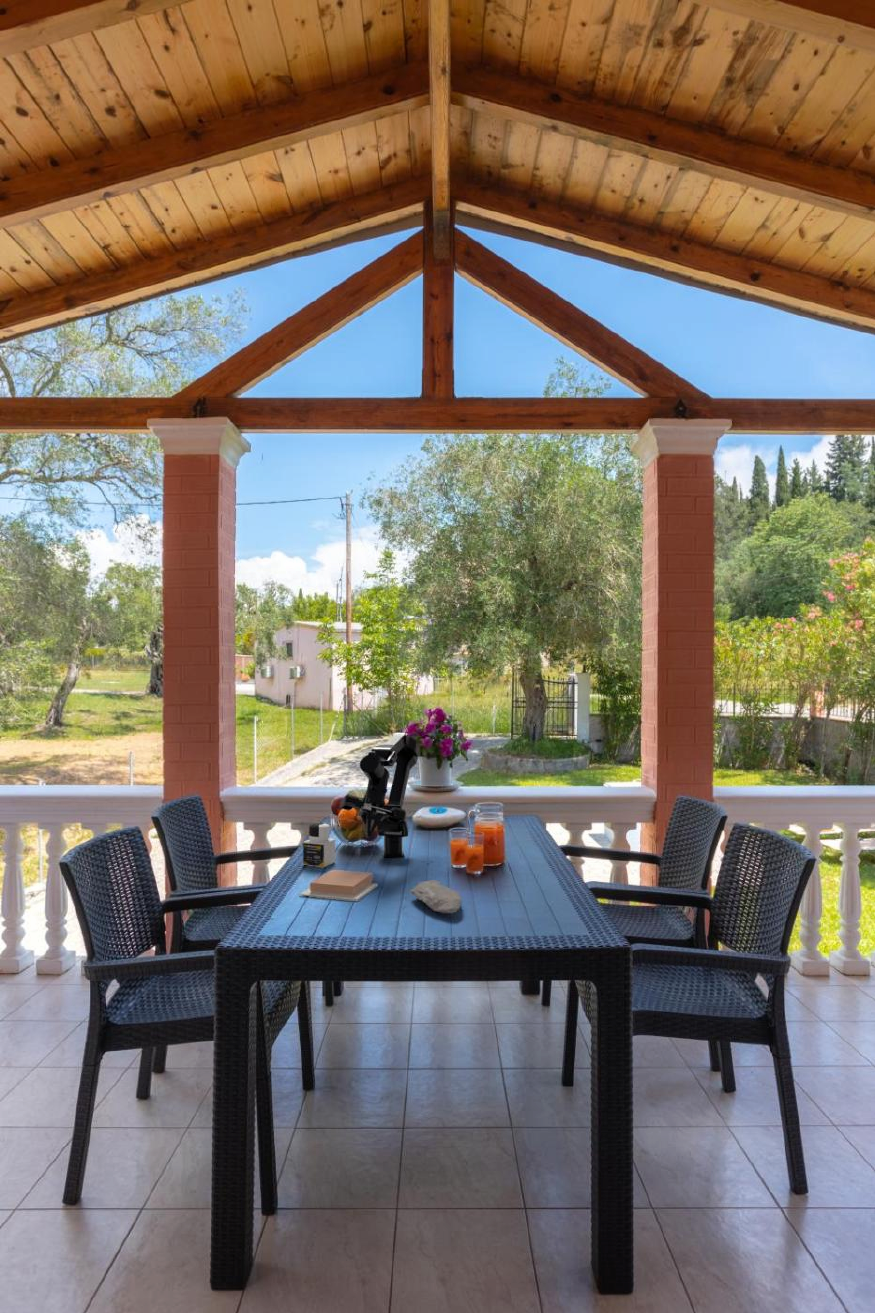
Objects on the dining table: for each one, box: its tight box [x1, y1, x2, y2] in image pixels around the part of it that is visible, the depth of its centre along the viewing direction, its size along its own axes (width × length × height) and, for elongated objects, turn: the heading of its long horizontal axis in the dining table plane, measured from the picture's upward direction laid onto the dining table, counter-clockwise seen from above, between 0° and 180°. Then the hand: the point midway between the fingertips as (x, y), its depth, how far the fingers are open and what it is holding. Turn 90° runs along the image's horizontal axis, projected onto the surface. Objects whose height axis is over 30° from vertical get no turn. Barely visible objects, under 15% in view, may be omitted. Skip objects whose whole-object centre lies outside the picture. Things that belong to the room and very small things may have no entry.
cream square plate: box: [299, 882, 379, 903], centre depth 217 cm, size 15×16×1 cm
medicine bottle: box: [302, 822, 336, 868], centre depth 247 cm, size 7×7×12 cm
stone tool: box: [410, 879, 462, 915], centre depth 205 cm, size 12×5×25 cm
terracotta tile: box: [309, 869, 374, 896], centre depth 219 cm, size 2×12×14 cm
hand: (368, 837), depth 235 cm, fingers closed
